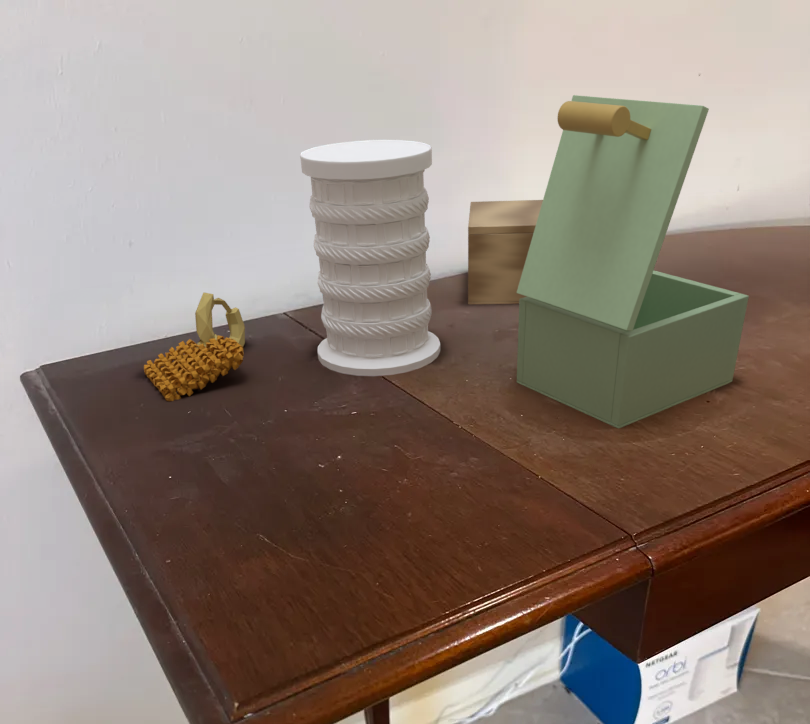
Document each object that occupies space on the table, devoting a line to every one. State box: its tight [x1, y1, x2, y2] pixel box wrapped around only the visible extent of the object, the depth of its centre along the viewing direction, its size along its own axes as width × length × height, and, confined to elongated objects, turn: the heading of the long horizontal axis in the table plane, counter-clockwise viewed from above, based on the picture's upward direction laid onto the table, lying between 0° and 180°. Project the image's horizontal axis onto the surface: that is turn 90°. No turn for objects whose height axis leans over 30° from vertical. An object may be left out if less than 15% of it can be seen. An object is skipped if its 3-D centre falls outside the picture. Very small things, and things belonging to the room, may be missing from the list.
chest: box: [516, 269, 750, 429], centre depth 67 cm, size 14×12×8 cm
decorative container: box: [299, 139, 441, 377], centre depth 72 cm, size 12×12×18 cm
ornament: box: [143, 292, 246, 402], centre depth 74 cm, size 7×10×15 cm
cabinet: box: [467, 199, 543, 305], centre depth 89 cm, size 14×12×9 cm
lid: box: [517, 94, 710, 331], centre depth 57 cm, size 14×12×5 cm
